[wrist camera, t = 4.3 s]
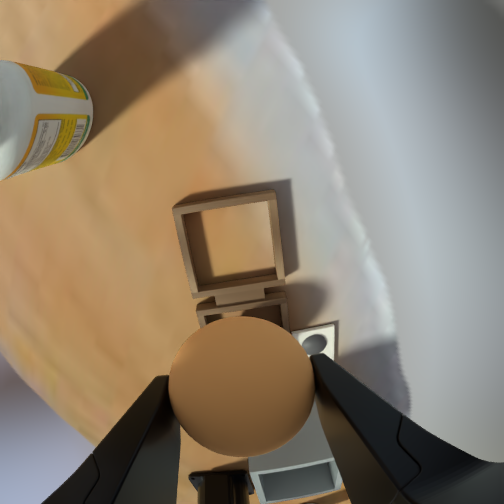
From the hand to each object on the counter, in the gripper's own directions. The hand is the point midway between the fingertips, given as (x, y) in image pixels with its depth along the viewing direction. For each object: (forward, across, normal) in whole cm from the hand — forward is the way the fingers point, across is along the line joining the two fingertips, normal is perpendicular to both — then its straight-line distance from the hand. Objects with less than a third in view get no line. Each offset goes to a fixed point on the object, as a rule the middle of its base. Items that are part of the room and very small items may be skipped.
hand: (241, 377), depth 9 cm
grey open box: (+11, -2, +17) cm, 20 cm away
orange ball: (+2, 0, 0) cm, 2 cm away
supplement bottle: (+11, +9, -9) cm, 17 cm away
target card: (+11, -4, +10) cm, 15 cm away
